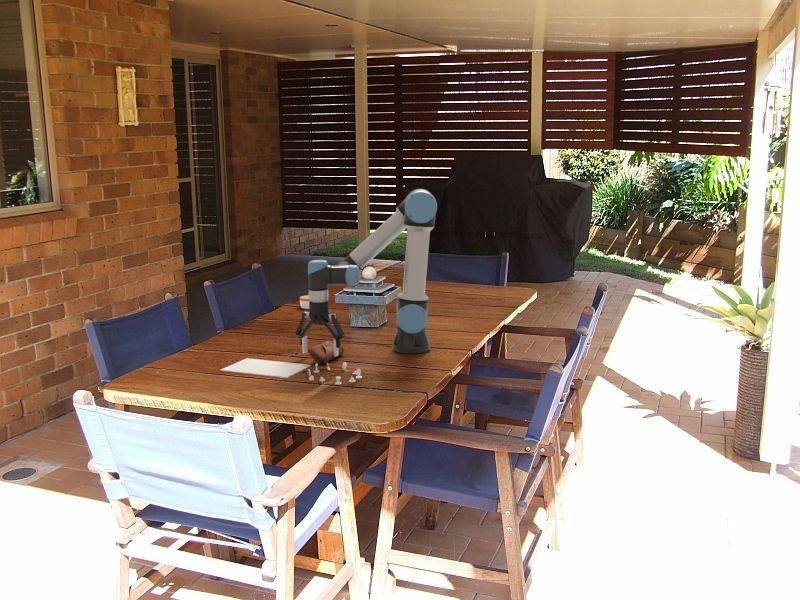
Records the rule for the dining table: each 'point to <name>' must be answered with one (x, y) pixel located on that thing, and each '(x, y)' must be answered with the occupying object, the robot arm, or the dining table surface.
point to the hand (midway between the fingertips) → (320, 354)
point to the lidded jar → (304, 302)
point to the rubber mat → (266, 368)
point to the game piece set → (337, 376)
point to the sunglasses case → (324, 352)
